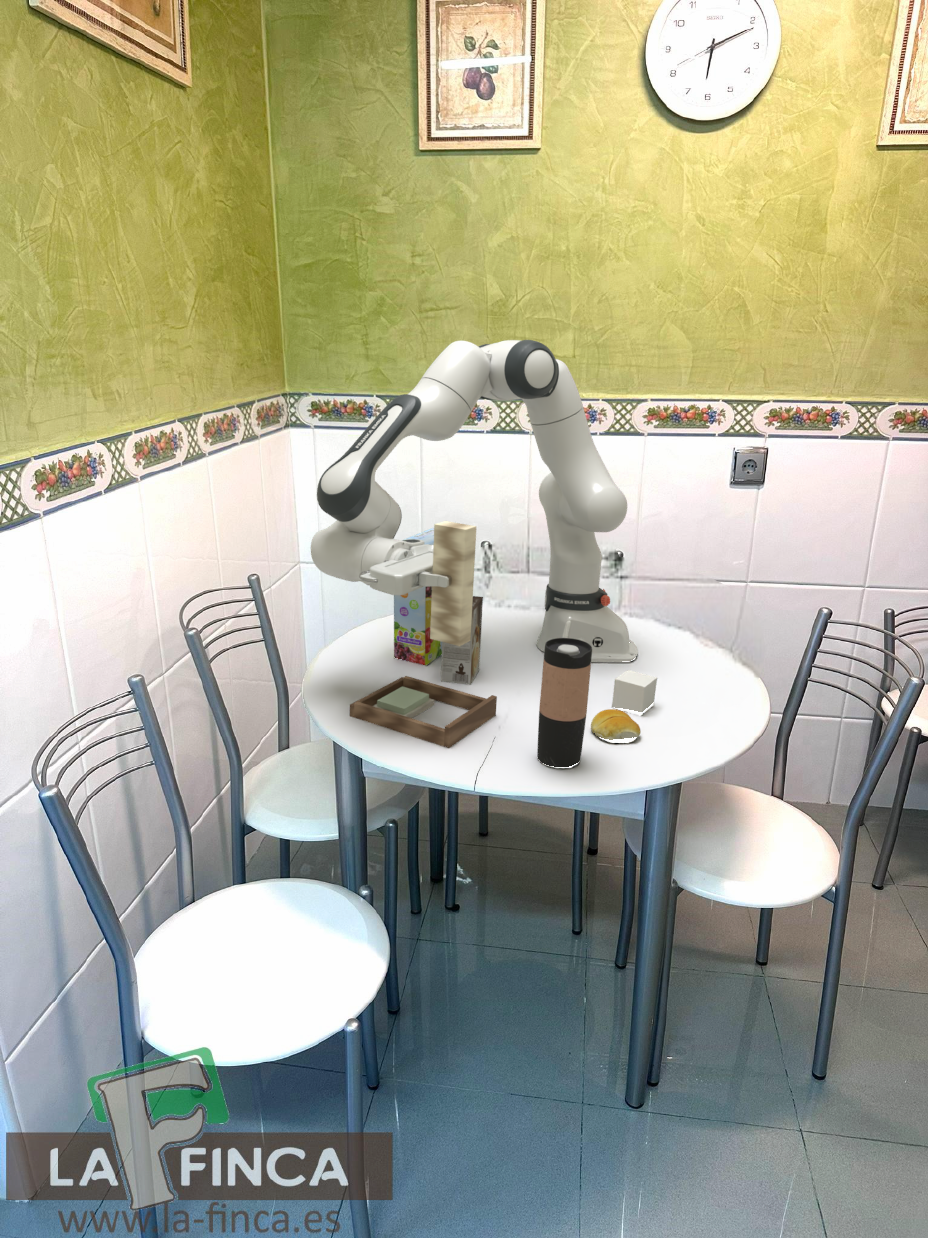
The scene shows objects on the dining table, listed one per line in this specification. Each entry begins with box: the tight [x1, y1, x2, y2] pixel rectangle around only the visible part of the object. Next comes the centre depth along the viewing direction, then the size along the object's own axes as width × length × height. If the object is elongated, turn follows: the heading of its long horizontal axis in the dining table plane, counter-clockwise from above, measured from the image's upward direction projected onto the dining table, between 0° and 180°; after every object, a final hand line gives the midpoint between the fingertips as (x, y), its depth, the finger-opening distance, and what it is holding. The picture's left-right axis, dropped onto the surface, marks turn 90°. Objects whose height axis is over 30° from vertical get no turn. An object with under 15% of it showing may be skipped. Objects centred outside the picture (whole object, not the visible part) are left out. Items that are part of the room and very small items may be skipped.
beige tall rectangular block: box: [430, 520, 478, 646], centre depth 142 cm, size 6×4×20 cm, turn 59°
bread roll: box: [590, 708, 641, 740], centre depth 150 cm, size 8×9×4 cm
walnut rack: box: [349, 675, 498, 749], centre depth 152 cm, size 21×16×4 cm
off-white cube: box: [611, 669, 658, 712], centre depth 160 cm, size 6×6×6 cm
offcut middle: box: [374, 698, 436, 719], centre depth 155 cm, size 7×10×1 cm
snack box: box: [393, 527, 442, 667], centre depth 183 cm, size 22×9×26 cm, turn 154°
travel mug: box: [536, 638, 592, 767], centre depth 137 cm, size 8×8×20 cm
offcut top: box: [377, 686, 429, 715], centre depth 155 cm, size 6×8×1 cm
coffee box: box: [440, 595, 484, 686], centre depth 169 cm, size 9×6×16 cm
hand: (457, 578), depth 141 cm, fingers closed on beige tall rectangular block, 3 cm apart
